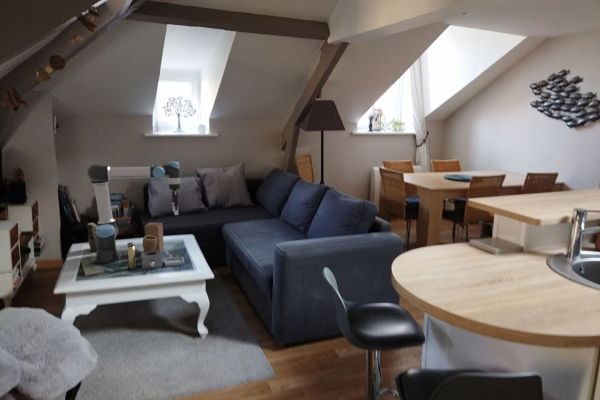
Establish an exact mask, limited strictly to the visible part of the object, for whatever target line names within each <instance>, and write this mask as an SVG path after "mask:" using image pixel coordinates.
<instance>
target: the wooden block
mask: <svg viewBox="0 0 600 400" xmlns="http://www.w3.org/2000/svg"><path fill="white" fill-rule="evenodd" d="M147 235H152V236H155V237H157V245H156V248H155V251H159V250H161V252H162V251H163V250H164V248H165V247H164V229H163V223H162V222H148V223H147V224H146V225H144V237H145V236H147Z"/></svg>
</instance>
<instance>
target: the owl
mask: <svg viewBox="0 0 600 400" xmlns="http://www.w3.org/2000/svg"><path fill="white" fill-rule="evenodd" d="M97 227H98V224H96V223H95V222H92V221H91V222H88V223H87V224H86V229H87V242H88V244H89V250H90V249H91V252H90V253H97V241H96V233H95V232H96V228H97Z"/></svg>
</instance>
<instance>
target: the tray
mask: <svg viewBox="0 0 600 400" xmlns="http://www.w3.org/2000/svg"><path fill="white" fill-rule="evenodd" d="M163 259H164V267H165V268H166V267H167V268H168V267H169V268H170V267H178V266H179V267H180V266H185V260H184V256H176V257H167V258H165V257H164V258H163Z"/></svg>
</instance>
